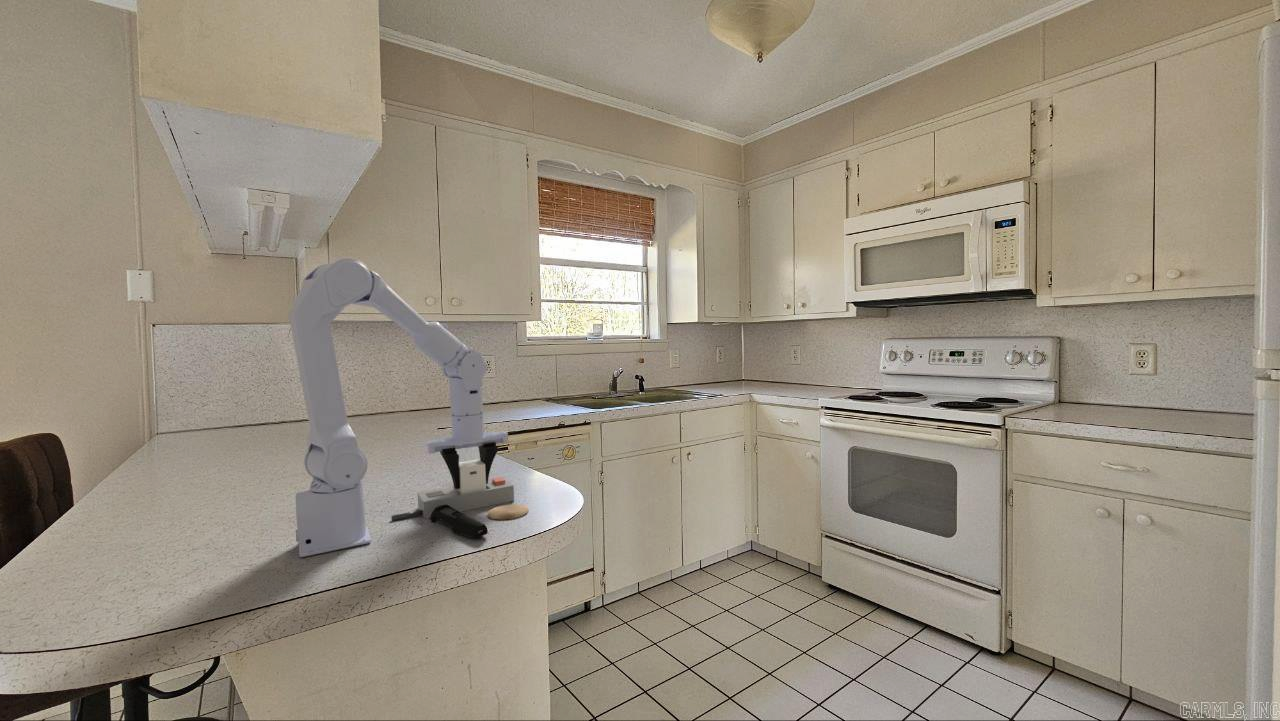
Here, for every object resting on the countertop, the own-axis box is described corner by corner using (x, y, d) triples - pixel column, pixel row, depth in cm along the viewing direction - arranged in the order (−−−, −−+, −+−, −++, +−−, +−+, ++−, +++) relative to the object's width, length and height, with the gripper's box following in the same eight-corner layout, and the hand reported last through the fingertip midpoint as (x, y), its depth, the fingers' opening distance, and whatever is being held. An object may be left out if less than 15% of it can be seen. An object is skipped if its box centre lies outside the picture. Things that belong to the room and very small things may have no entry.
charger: (462, 497, 99) (460, 467, 99) (456, 491, 103) (454, 462, 103) (486, 493, 101) (485, 463, 101) (480, 487, 105) (478, 459, 105)
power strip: (393, 525, 92) (392, 503, 92) (388, 513, 98) (387, 493, 98) (514, 501, 103) (513, 481, 103) (503, 492, 109) (502, 473, 109)
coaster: (494, 522, 92) (494, 520, 92) (483, 511, 98) (483, 509, 98) (534, 514, 95) (533, 512, 95) (521, 503, 101) (520, 501, 101)
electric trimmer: (471, 547, 83) (470, 527, 82) (428, 523, 94) (427, 505, 93) (493, 540, 85) (493, 520, 85) (449, 517, 96) (448, 499, 96)
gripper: (499, 407, 109) (502, 474, 109) (422, 415, 101) (426, 487, 102) (510, 411, 103) (513, 482, 103) (429, 420, 95) (433, 496, 96)
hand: (471, 485), depth 102 cm, fingers closed on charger, 4 cm apart
